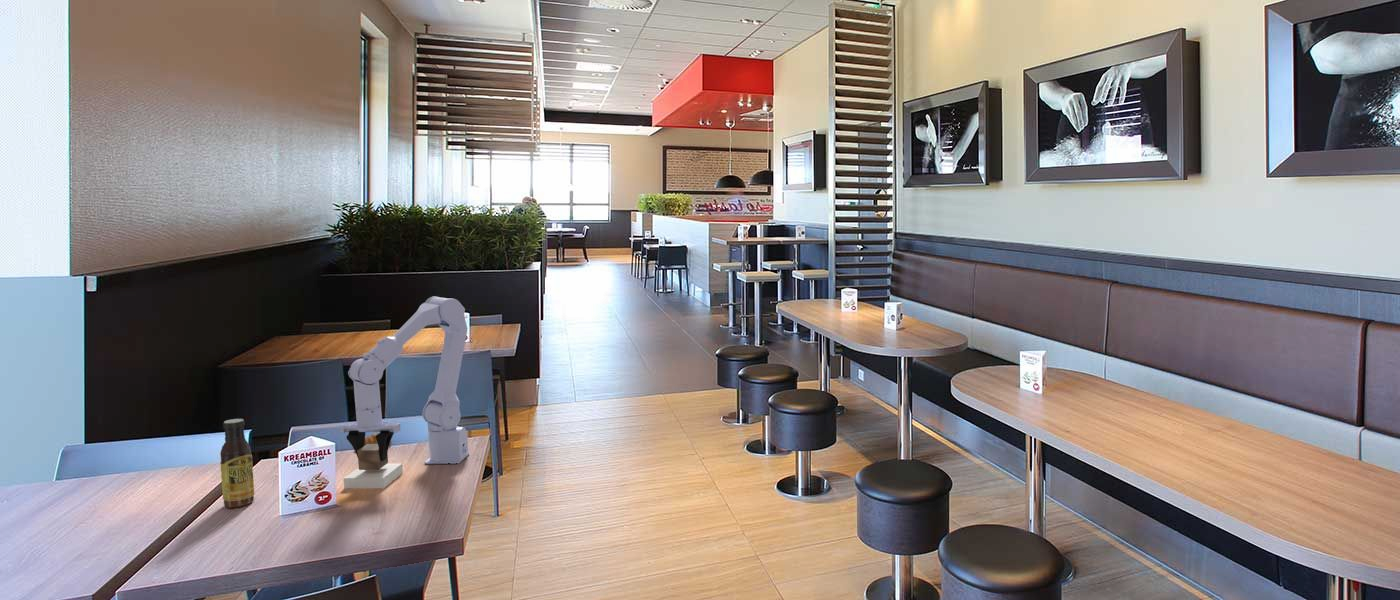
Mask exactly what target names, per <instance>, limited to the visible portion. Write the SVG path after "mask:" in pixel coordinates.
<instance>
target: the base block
mask: <svg viewBox="0 0 1400 600" xmlns="http://www.w3.org/2000/svg"><path fill="white" fill-rule="evenodd" d="M403 471H404V470H403V463H387V464H386V465H385V466H383V467H382V468H380V469H379V470H359V467H358V468H356V469H354V470H352V472H350V473H349V474H348V475H346V476H344V477H343V488H344V489H386V488H387V486H389V485H390V484H391V483H392V481H393V480H394V481H395V480H396V479H398V478H399V477H400V476H401V475H402V474H403V473H404V472H403ZM401 473H402V474H401ZM400 474H401V475H400ZM399 475H400V476H399ZM398 476H399V477H398ZM394 481H393V482H394Z"/></svg>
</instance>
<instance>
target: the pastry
mask: <svg viewBox="0 0 1400 600" xmlns="http://www.w3.org/2000/svg"><path fill="white" fill-rule="evenodd" d="M379 433H380V432H375V433H372V434H371V435H368V436H365V445H367V444H378V443H377V440H376V437H375V436H376V435H377V434H379ZM392 443H393V442H392V440H391V441H390V444H389V447H390V446H392Z"/></svg>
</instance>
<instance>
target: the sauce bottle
mask: <svg viewBox="0 0 1400 600" xmlns="http://www.w3.org/2000/svg"><path fill="white" fill-rule="evenodd" d="M244 427H245V420H244V419H243V418H233V419H227V420H224V422H223V429H224V437H225V438H224V441H225V442H224V444H223V445H222V446H221V450H220V462H219V463H220V475H221V491H222V500H223V505H224V507H225V508H228V509H232V508H233V509H234V508H240V507H241V508H242V507H245V506H247V505H249V504H251V503H253V502H254V499H255V497H254V496H255V485H254V471H253V470H254V469H253V455H252V451H251V447H250V443H249V442H248V441H247V439H246V438H245V437H246V435H245V428H244Z"/></svg>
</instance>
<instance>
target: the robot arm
mask: <svg viewBox="0 0 1400 600" xmlns="http://www.w3.org/2000/svg"><path fill="white" fill-rule="evenodd" d="M465 311H466V308H465V307H464V306H463V305H462V304H461V302H460V301H459V300H458V299H456V298H448V297H447V298H446V297H440V296H436V295H435V296H434V295H433V296H430V297H429V298H427V299H426V300H425V302H423V303H421V304H420V305H419V307H418V309H417V310H416V312H414V314H413V315H412V316H410V318H409V319H408V320H407V321H406V322H405V323H404V324H403V325H402V326H401V327H400V328H399V329H398V330H397V331H396V332H395V333H394V334H393V335H392V336H384V337H383V338H382V337H380V338H378V340H376V343H377V344H376V345H374V346H373V347H372V348H371V349H370V350H369V351H368V352H364V354H363V355H362V357H363V358H359V359H356V360H355V361H353V362H352V364H351V365H350V367H349V370H348V371H347V375H348V376H349V378H350V379H351V380H352V381H353V393H354V394H353V395H354V403H355V404H354V405H355V415H356V416H355V418H356V421H355V422H344V423H342V424H339V426H338V428H339V433H340V434H345V433H348V434H347V435H346V437H345V438H346V440H347V441H348V443H350V445H351V447H352V448H353V450H354V452H355V454H356V457H357V458H358V452H357V450H359V449H360V448H362V447H363V446H365V438H366V434H367V433H379V434H377V435H376V436H375V437H376V440H377V443H378V447H379V456H380V460H381V461H384V460H385V459H386V458H387V454H388V451H389V449H390V446H389V444H390V441H392V439H393V436H394V434H395V433H399V432H400V431H401V422H392V421H391V422H390V421H383V416H382V415H383V414H382V405H381V404H382V403H381V391H380V390H381V389H380V380H382V378H383V375H384V371H385V369H387V367H389V366H390V365H391V364H392V363H393V362H394V361H395V360H396V359H397V358H398V357H399V356H400V355H401V354H403V349H404V348H403V347H404V345H405V344H406V343H408V342H409V341H410V340H411V339H412V338H414V337H415V336H416V335H417V334H418V333H420V332H421V331H422V330H423V329H424V328H425V327H427V326H430V325H431V326H432V325H438V326H439V327H440V328H441V330H442V331H443V332H444V334H445V335H444V340H443V346H442V349H441V355H440V359H439V360H440V361H439V366H438V370H437V371H438V372H437V376H436V377H437V378H436V381H435V386H434V391H433V392H432V393H430V395H428V400H427V402H426V404H425V405H424V407H423V409H422V412H421V413H422V414H421V415H422V418H423V420H424V421H425V422H426V423H427V429H428V446H429V456H430V457H429V458H427V459H426V460H424V464H425V465H430V464H432V465H433V464H434V465H436V464H437V465H438V464H439V465H440V464H442V465H443V464H444V465H445V464H447V465H449V464H448V463H450V464H451V465H453V464H454V465H455V464H456V463H457V464H460V463H461V462H463V460H464V459H465V458H466V457H468V456H469V454H470V452H469V446H468V445H469V444H468V433H467V428H466V427H463V426H459V425H458V424H459V423H460V420H461V418H462V417H461V415H462V414H461V410H460V407H461V406H460V404H461V401H460V399H459V397H458V395H457V388H458V383H459V382H458V381H459V377H460V373H461V372H460V371H461V365H462V362H463V356H464V351H465V346H466V340H467V335H468V325H467V321H466V317H465Z"/></svg>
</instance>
